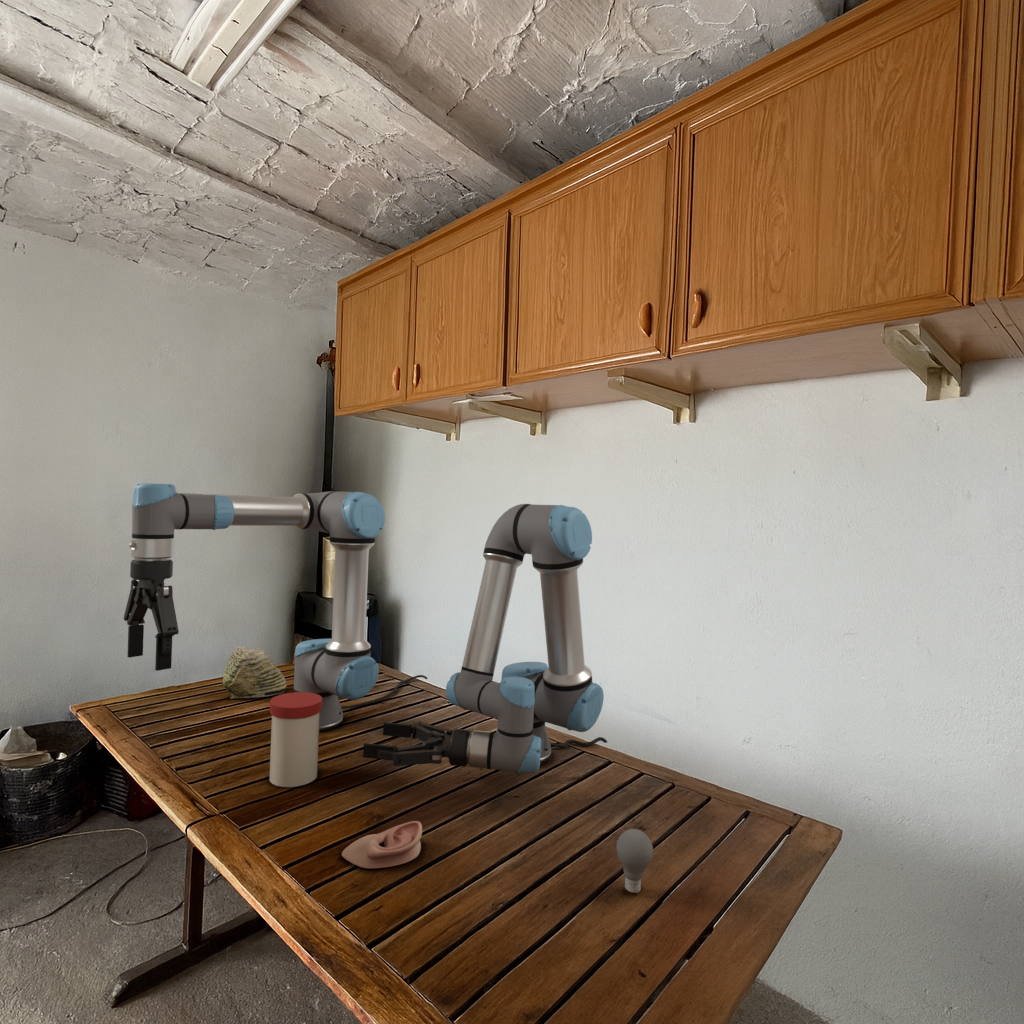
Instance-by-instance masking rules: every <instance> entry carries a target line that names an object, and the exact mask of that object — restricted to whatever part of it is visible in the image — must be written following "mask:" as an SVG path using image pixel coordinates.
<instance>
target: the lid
mask: <svg viewBox="0 0 1024 1024" xmlns="http://www.w3.org/2000/svg"><path fill="white" fill-rule="evenodd" d="M321 710H322V697H321V696H320V695H318V694H315V693H309V692H294V691H293V692H286V693H280V694H277V695H276V696H275V695H274V696H273V697H272V698H271V699H270V701H269V714H270V715H271V717H272V716H275V717H278V718H285V719H297V718H305V717H309V716H313V715H315V714H318V713H319V712H320V711H321Z"/></svg>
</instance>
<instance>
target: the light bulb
mask: <svg viewBox="0 0 1024 1024" xmlns="http://www.w3.org/2000/svg"><path fill="white" fill-rule="evenodd" d="M615 849H616V854H617V857H618V859H619V861H620V863H621V865H622V867H623V873H624V874H623V875H624V876H625V878H624V888H625V890H627V891H628V892H630V893H634V894H635V893H639V892H640V891H641V889H642V887H641V886H642V879H643V877H644V875H645V871H646V868H647V867H648V866H649V864H650V863H651V861H652V859H653V855H654V847H653V843H652V841H651V838H649V836H648V835H647V834H646V833H645V832H643V831H642V830H641V829H636V828H629V829H627V830H625V831H623V832H622V833H621V834H620V835H619V837H618V839H617V841H616V847H615Z"/></svg>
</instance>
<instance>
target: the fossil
mask: <svg viewBox="0 0 1024 1024" xmlns="http://www.w3.org/2000/svg"><path fill="white" fill-rule="evenodd" d="M222 676H223V677H222V685H223V687H224V688H225V690H226V691H228V693H229V698H230V699H250V698H264V697H271V696H275V695H276V696H277V695H281V694H284V693H285V691H286V689H287V687H288V686H287V680H286V678H285V676H284V674H283V673H282V672H281V669H279V668H278V667H277V665H276V663H275V662H274V660H273V659H272V658H271V657H270V656H269V655H268V654H267V653H266V652H265V650H264V649H263V648H260V647H258V648H251V647H247V646H246V647H245V646H238V647H237V648H236V649H235V650H233V651H232V653H231V656H230V657H229V659H228V660H227V663H226V666H225V668H224V671H223V675H222Z"/></svg>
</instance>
